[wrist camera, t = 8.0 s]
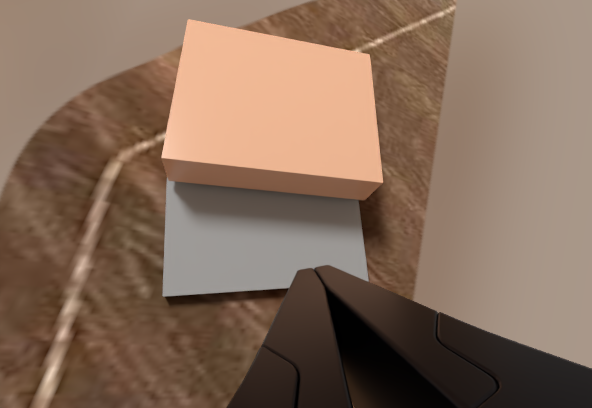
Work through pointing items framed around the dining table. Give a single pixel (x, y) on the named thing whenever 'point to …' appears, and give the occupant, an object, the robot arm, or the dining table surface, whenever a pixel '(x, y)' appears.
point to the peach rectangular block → (272, 115)
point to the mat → (254, 238)
